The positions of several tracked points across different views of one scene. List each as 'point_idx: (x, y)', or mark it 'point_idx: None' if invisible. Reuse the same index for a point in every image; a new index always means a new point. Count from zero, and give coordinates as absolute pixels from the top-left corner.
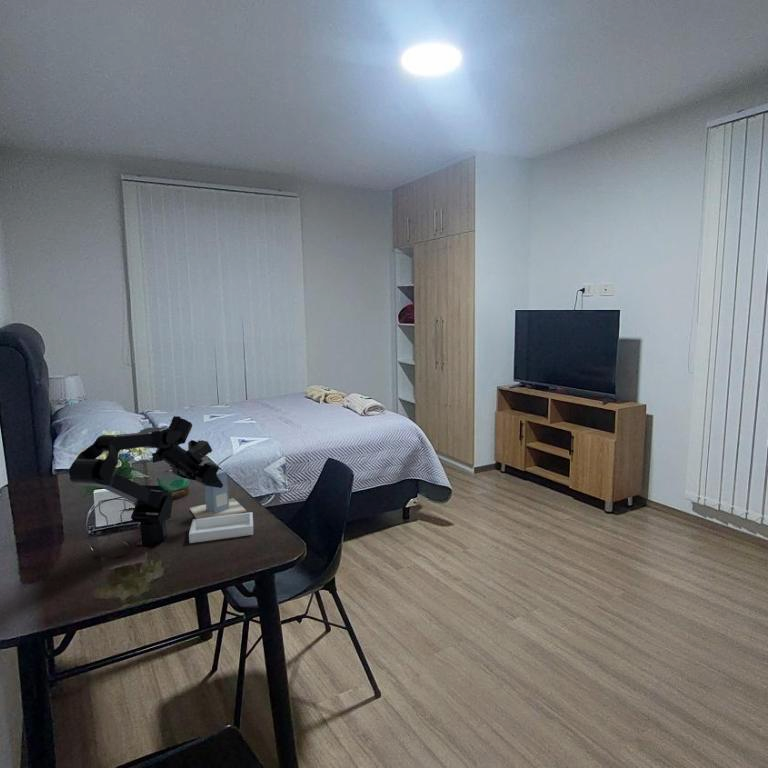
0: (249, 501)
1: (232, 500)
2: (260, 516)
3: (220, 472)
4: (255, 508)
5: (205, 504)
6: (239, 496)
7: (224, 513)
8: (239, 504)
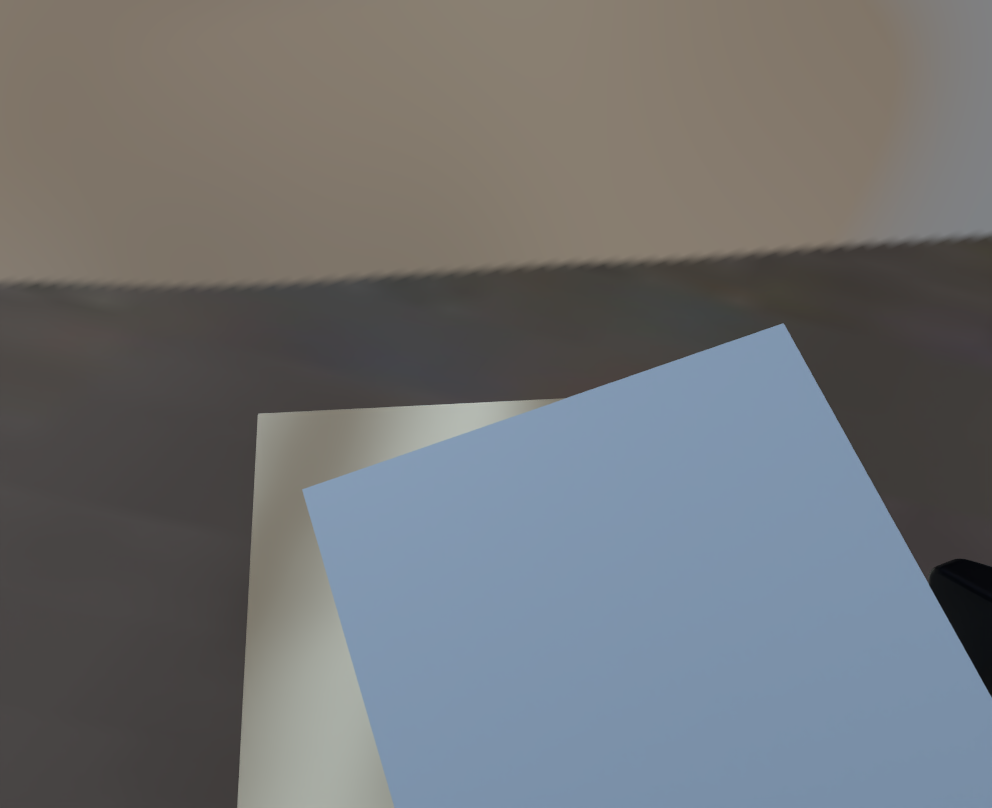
0: (398, 288)
1: (338, 444)
2: (902, 307)
3: (819, 497)
4: (649, 290)
5: (249, 802)
6: (157, 337)
7: None
8: (529, 406)
